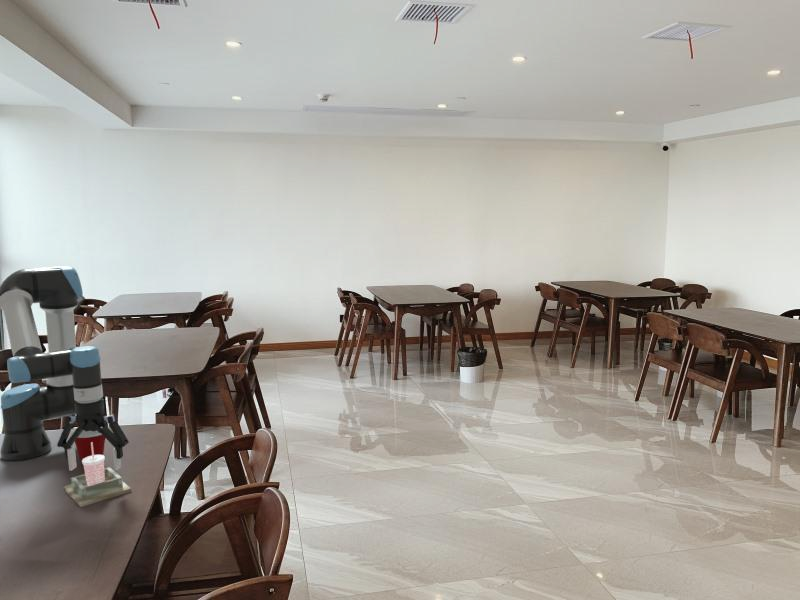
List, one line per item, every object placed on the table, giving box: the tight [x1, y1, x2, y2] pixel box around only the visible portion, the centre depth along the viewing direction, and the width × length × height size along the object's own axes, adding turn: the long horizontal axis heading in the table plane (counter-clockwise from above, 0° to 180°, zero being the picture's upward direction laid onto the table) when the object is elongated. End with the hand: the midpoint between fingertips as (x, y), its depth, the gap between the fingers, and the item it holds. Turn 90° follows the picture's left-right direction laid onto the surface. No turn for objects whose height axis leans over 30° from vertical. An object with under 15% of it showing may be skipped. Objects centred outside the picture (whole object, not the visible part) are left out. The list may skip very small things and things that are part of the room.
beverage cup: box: [81, 442, 106, 486], centre depth 182 cm, size 6×6×14 cm
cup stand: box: [63, 466, 132, 508], centre depth 183 cm, size 16×14×4 cm
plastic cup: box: [70, 430, 106, 469], centre depth 201 cm, size 11×11×12 cm
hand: (95, 468), depth 183 cm, fingers open, 13 cm apart
